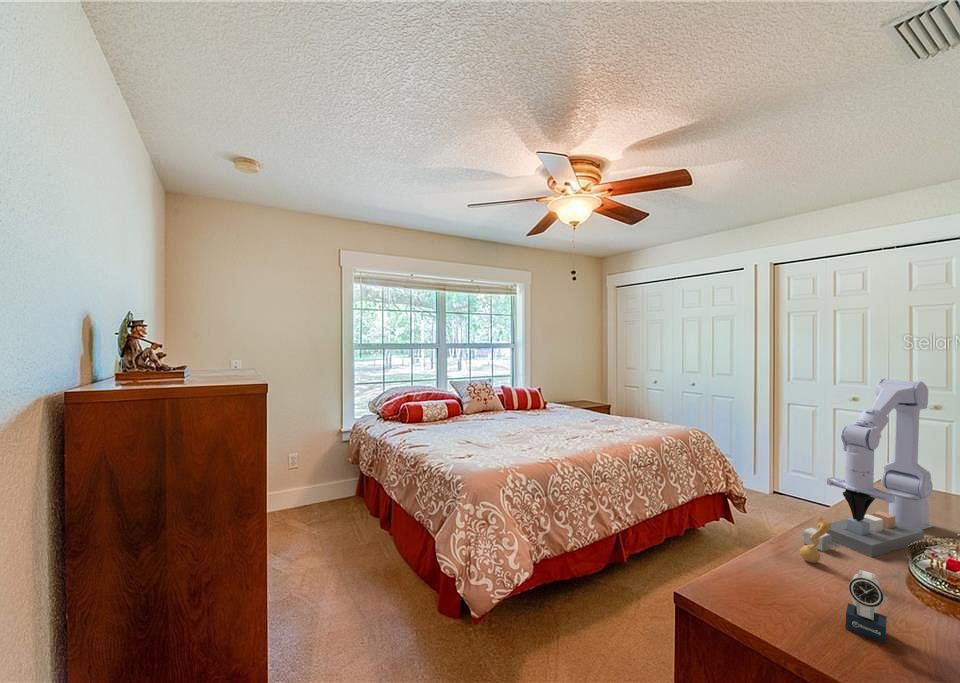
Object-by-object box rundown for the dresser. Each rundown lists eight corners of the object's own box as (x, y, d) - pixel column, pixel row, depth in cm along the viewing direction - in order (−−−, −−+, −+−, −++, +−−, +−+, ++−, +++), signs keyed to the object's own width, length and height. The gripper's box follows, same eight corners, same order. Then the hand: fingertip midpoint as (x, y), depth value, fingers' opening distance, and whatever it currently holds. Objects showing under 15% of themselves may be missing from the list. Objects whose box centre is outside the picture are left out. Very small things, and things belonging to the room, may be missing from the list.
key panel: (870, 523, 127) (871, 513, 126) (924, 541, 115) (924, 530, 115) (819, 536, 118) (819, 525, 118) (871, 557, 107) (871, 545, 107)
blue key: (854, 529, 117) (854, 517, 117) (869, 535, 114) (869, 522, 114) (846, 531, 116) (847, 519, 116) (861, 537, 112) (861, 524, 112)
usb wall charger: (812, 541, 115) (812, 527, 115) (842, 553, 109) (842, 538, 109) (803, 544, 113) (803, 529, 113) (833, 556, 107) (833, 541, 107)
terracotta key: (880, 523, 121) (880, 511, 121) (895, 528, 118) (895, 515, 118) (873, 525, 120) (873, 512, 120) (888, 530, 117) (888, 517, 117)
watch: (844, 633, 79) (845, 576, 79) (848, 614, 85) (849, 560, 85) (885, 650, 75) (887, 589, 75) (887, 628, 81) (888, 572, 81)
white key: (867, 526, 119) (867, 514, 119) (882, 531, 116) (882, 519, 116) (860, 528, 118) (860, 515, 118) (875, 533, 114) (875, 520, 114)
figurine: (807, 553, 109) (808, 507, 108) (836, 564, 103) (837, 516, 103) (793, 562, 104) (794, 515, 104) (823, 574, 99) (824, 524, 99)
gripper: (820, 463, 120) (819, 510, 120) (883, 480, 106) (882, 533, 106) (836, 461, 122) (835, 507, 122) (900, 477, 109) (898, 529, 109)
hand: (858, 519), depth 114 cm, fingers closed
